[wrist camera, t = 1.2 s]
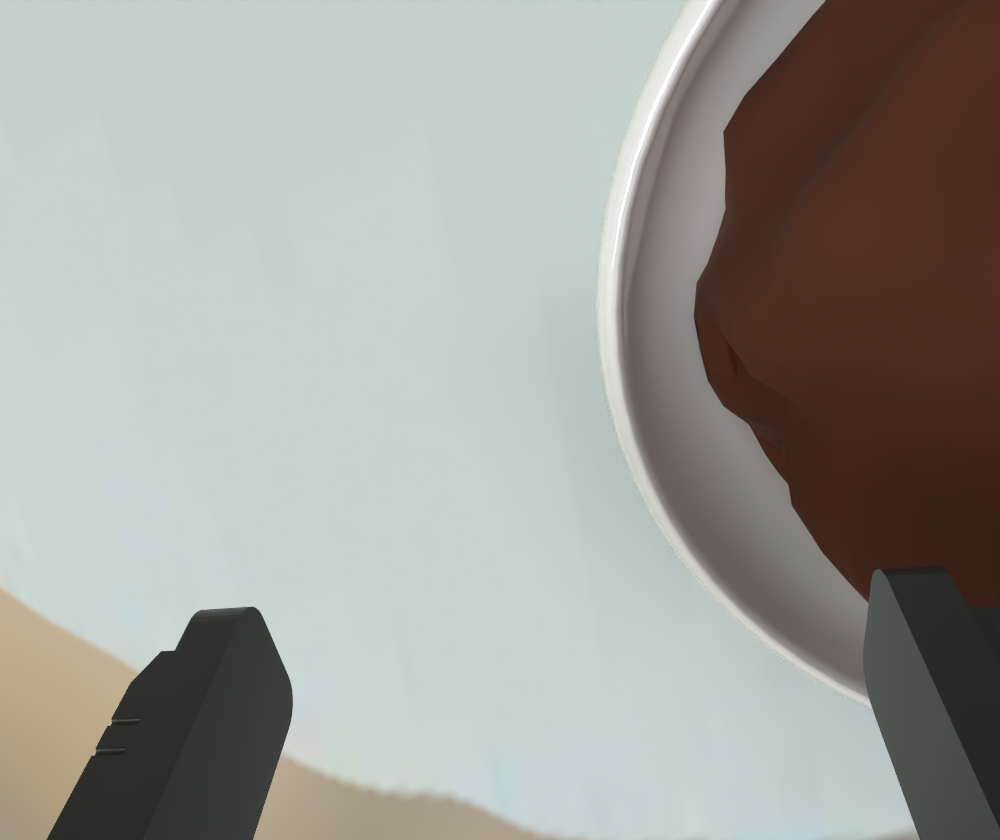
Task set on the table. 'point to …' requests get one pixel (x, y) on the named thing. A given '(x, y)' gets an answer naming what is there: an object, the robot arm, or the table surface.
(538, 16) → the table surface
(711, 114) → the bowl of brownies
